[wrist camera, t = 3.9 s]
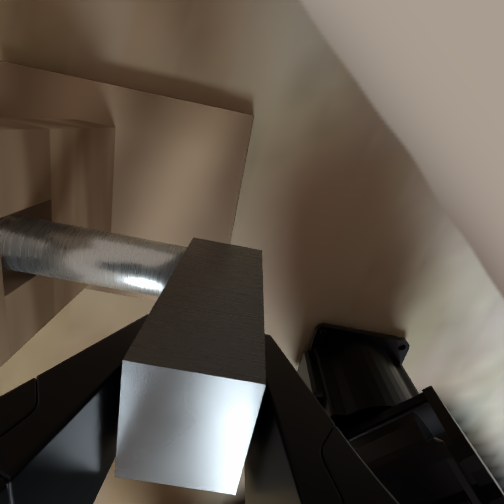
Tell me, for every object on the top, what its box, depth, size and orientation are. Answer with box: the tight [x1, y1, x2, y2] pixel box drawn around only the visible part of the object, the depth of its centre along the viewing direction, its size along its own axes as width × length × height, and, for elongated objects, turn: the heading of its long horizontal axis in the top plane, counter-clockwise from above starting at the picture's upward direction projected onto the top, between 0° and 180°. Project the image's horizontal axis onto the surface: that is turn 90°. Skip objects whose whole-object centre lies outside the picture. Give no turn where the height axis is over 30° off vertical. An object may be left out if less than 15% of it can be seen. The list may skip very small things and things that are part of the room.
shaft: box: [0, 214, 266, 495], centre depth 9 cm, size 10×3×8 cm, turn 79°
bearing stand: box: [0, 60, 254, 367], centre depth 15 cm, size 13×12×10 cm
